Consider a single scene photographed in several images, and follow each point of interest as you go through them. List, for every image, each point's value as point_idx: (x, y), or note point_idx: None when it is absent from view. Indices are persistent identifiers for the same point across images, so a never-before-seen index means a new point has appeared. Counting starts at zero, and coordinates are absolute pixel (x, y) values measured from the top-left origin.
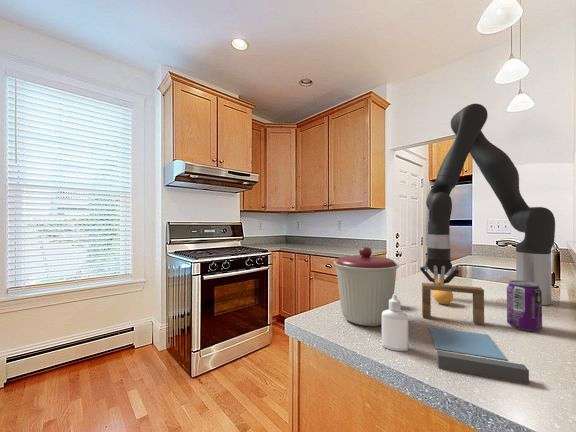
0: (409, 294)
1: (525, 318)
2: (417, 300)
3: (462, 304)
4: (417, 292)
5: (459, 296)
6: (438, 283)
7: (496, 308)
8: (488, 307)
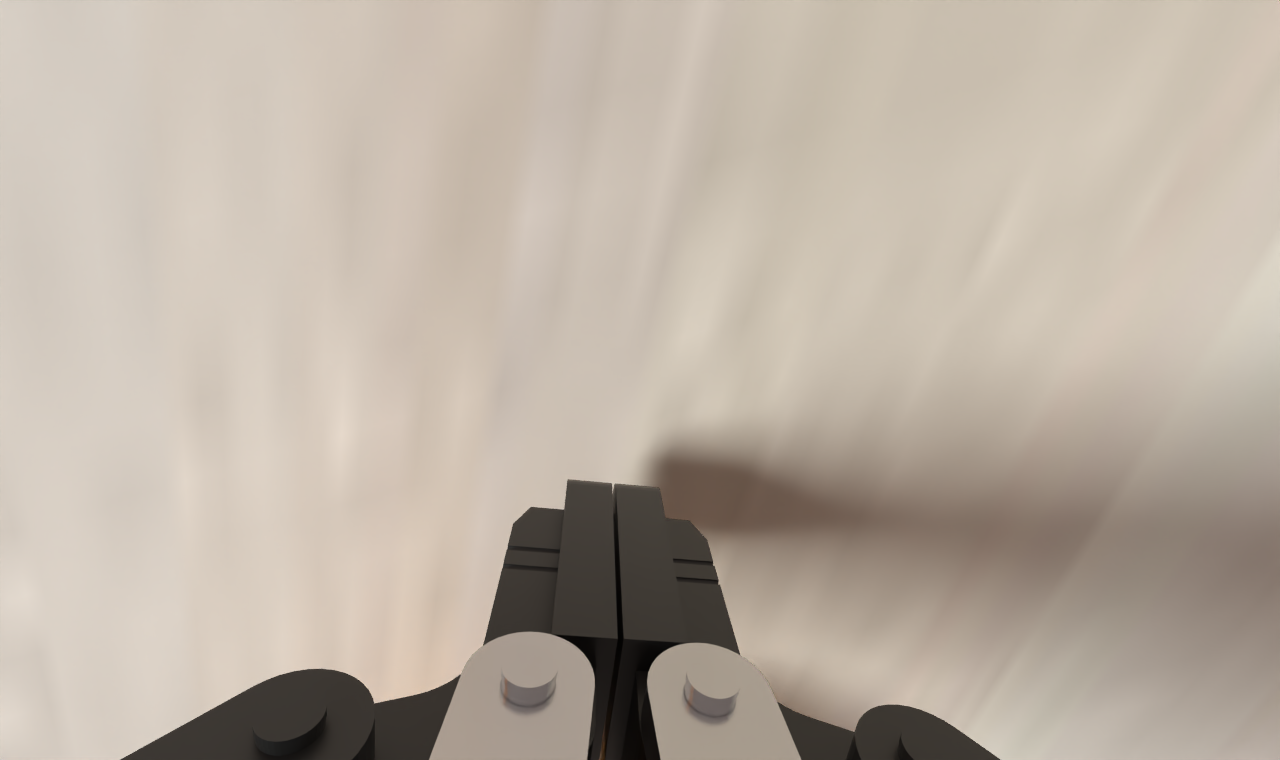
0: (30, 380)
1: None
2: None
3: None
4: (190, 130)
5: (1060, 241)
6: (602, 696)
7: (1227, 749)
8: (1151, 740)
